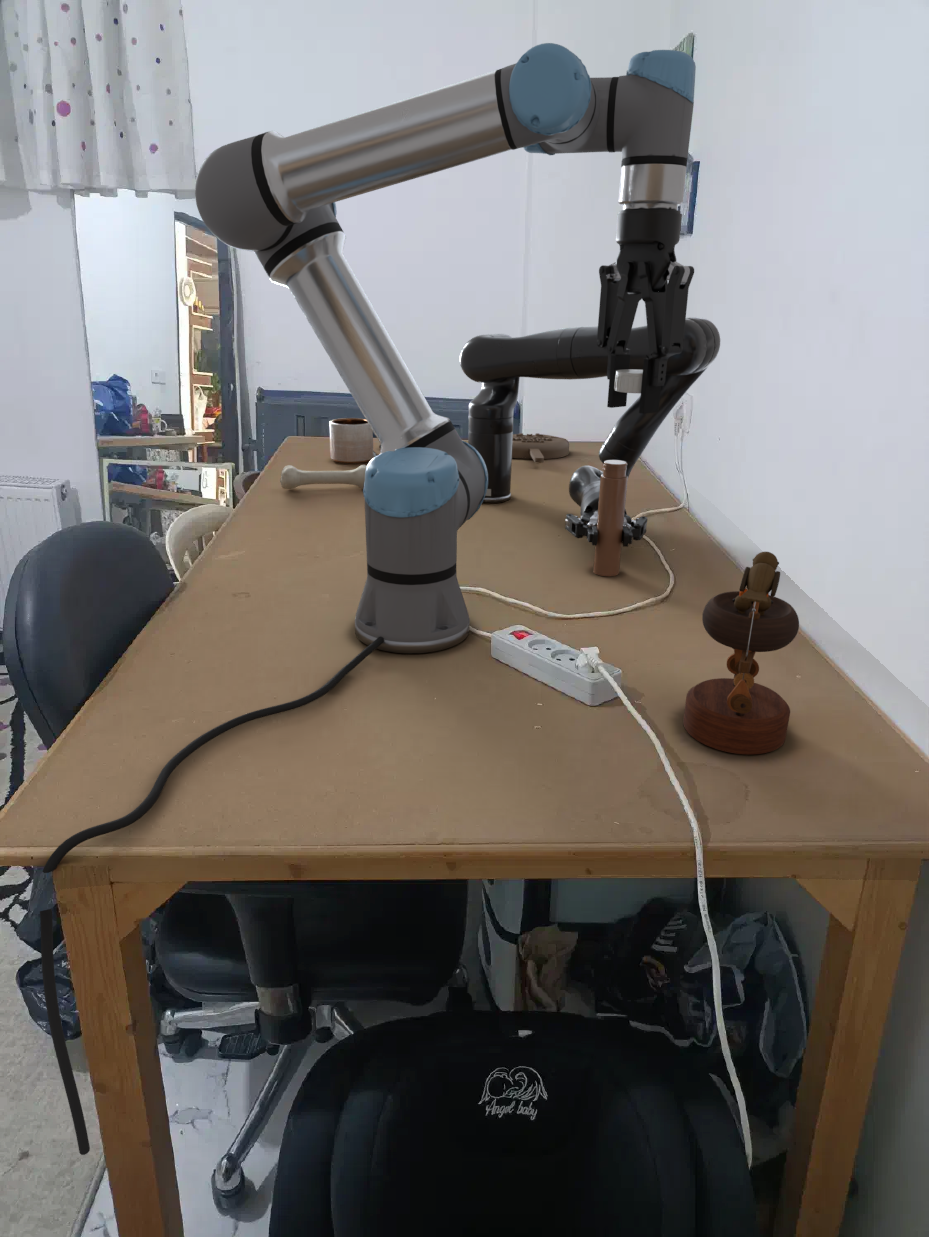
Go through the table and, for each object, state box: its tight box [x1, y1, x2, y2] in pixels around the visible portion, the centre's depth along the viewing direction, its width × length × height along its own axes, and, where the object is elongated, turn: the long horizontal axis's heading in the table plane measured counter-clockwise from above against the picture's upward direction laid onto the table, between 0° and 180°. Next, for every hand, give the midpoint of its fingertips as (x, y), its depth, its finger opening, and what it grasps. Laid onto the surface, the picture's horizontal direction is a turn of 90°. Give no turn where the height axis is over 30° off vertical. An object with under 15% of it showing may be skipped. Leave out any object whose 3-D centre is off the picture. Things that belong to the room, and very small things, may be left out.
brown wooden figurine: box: [682, 551, 800, 755], centre depth 87 cm, size 15×11×20 cm
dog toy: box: [279, 464, 368, 490], centre depth 185 cm, size 20×6×5 cm, turn 99°
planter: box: [328, 417, 375, 464], centre depth 212 cm, size 11×11×10 cm
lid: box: [614, 369, 643, 394], centre depth 107 cm, size 5×5×2 cm
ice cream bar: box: [512, 432, 570, 464], centre depth 220 cm, size 21×28×4 cm
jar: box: [592, 460, 629, 577], centre depth 133 cm, size 4×4×18 cm
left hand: (632, 409), depth 109 cm, fingers closed on lid, 5 cm apart
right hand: (610, 539), depth 132 cm, fingers closed on jar, 4 cm apart
